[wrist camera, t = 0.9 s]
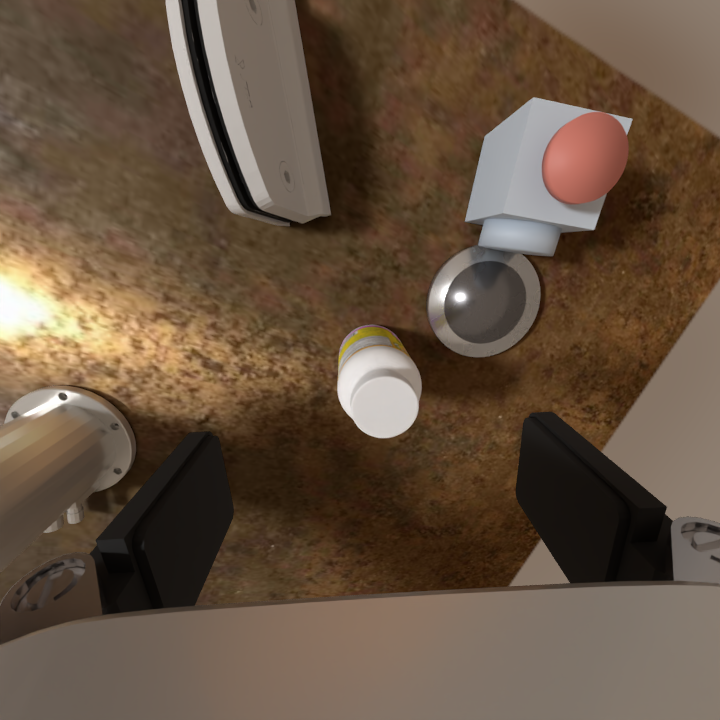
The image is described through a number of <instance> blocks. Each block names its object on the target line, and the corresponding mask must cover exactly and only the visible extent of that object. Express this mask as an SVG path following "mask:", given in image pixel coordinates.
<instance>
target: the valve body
mask: <svg viewBox="0 0 720 720" xmlns="http://www.w3.org/2000/svg"><path fill="white" fill-rule="evenodd" d="M631 122H632V119H630V118H626V117H621V116H617V115H612V114H607V113H603V112H598V111H594V110H589V109H585V108H580V107H576V106H571V105H566V104H562V103H557V102H553V101H548V100H544V99H539V98H534V97H533V98H532V99H531V100H530V101H528V102H527V103H526V104H525V105H523V106H522V107H521V108H520V109H518V110H517V111H516V112H515V113H513V114H512V115H511V116H510V117H508V118H507V119H506V120H505V121H503V122H502V123H501V124H500V125H498V126H497V127H496V128H495V129H493V130H492V131H491V132H490V133H488V134H487V135H486V136H485V138H484V142H483V147H482V151H481V155H480V159H479V164H478V168H477V172H476V176H475V181H474V185H473V189H472V193H471V198H470V202H469V206H468V210H467V215H466V219H465V222H468V223H474V224H480V225H483V227H482V231H481V235H480V239H479V243H478V246H481V247H485V248H489V249H494V250H500V251H506V252H513V253H520V254H528V255H537V256H554V252H555V249H556V246H557V243H558V240H559V237H560V234H561V233H563V232H576V231H589V230H594V229H595V226H596V223H597V220H598V218H599V215H600V212H601V209H602V206H603V203H604V200H605V197H606V194H607V192H609V191H610V190H611V189H612V188H613V187H614V185H615V184H616V183H617V182H618V180H619V179H620V177H621V175H622V173H623V171H624V169H625V166H626V163H627V158H628V139H627V134H628V131H629V128H630V125H631Z"/></svg>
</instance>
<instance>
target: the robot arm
mask: <svg viewBox="0 0 720 720" xmlns="http://www.w3.org/2000/svg"><path fill="white" fill-rule="evenodd" d="M135 455H136V441H135V437H134V433H133V431H132V429H131V427H130V425H129V423H128V421H127V420H126V419H125V417H124V416H123V414H122V413H121V412H120V411H119V410H118V409H117V408H116V407H115V406H114V405H112V404H111V403H110V402H108V401H107V400H105V399H104V398H102V397H101V396H99V395H97V394H95V393H93V392H90V391H87V390H84V389H81V388H78V387H71V386H49V387H44V388H40V389H38V390H35V391H33V392H31V393H29V394H27V395H25V396H23V397H21V398H20V399H19V400H18V401H16V402H15V403H14V404H13V405H12V407H11V408H10V409H9V411H8V413H7V416H6V419H5V422H4V425H2V426H0V573H1V572H2V571H3V570H4V569H5V568H6V567H7V566H8V565H9V564H10V563H11V562H12V561H13V560H14V559H15V558H16V557H18V556H19V555H20V554H21V553H22V552H23V551H24V550H25V549H26V548H27V547H28V546H29V545H30V544H31V543H32V542H33V541H35V540H36V539H37V538H38V537H39V536H40V535H41V534H42V533H43V532H45V533H48V532H53V531H55V530H58V529H59V528H61V527H62V526H63V524H64V519H63V513H64V512H65V511H66V510H67V518H68V523H70V524H75V523H78V522H80V521H82V520H83V518H84V510H83V506H82V503H83V502H84V501H85V500H86V499H87V498H88V497H89V496H90V495H91V494H92V493H93V492H98V491H101V490H104V489H107V488H109V487H111V486H112V485H114V484H116V483H117V482H118V481H119V480H120V479H121V478H122V477H124V476H125V474H126V473H127V472H128V471H129V470H130V468H131V466H132V464H133V462H134V460H135ZM516 497H517V500H518V503H519V504H520V506H521V507H522V509H523V511H524V512H525V514H526V515H527V517H528V518H529V520H530V521H531V523H532V525H533V526H534V528H535V529H536V531H537V532H538V534H539V535H540V537H541V538H542V540H543V542H544V543H545V545H546V546H547V548H548V549H549V551H550V552H551V554H552V556H553V557H554V559H555V560H556V562H557V563H558V565H559V566H560V568H561V570H562V571H563V573H564V574H565V576H566V577H567V579H568V580H569V582H570V583H568V584H550V585H530V586H512V587H492V588H473V589H454V590H437V591H420V592H403V593H386V594H369V595H352V596H336V597H320V598H304V599H289V600H274V601H258V602H243V603H228V604H213V605H200V606H195V603H196V601H197V599H198V597H199V594H200V592H201V590H202V587H203V585H204V583H205V581H206V578H207V576H208V574H209V571H210V569H211V567H212V565H213V562H214V560H215V558H216V556H217V553H218V551H219V549H220V546H221V544H222V542H223V540H224V537H225V535H226V533H227V530H228V528H229V526H230V524H231V521H232V519H233V513H234V508H233V502H232V498H231V493H230V488H229V484H228V479H227V474H226V470H225V465H224V460H223V456H222V451H221V446H220V442H219V438H218V437H217V436H213V434H212V433H211V432H210V431H209V432H192V433H189V434H188V435H187V436H186V437H185V438H184V439H183V441H182V442H181V443H180V444H179V445H178V446H177V447H176V449H175V450H174V451H173V452H172V453H171V454H170V456H169V457H168V458H167V459H166V460H165V461H164V462H163V464H162V465H161V466H160V467H159V468H158V469H157V470H156V472H155V473H154V474H153V475H152V476H151V477H150V478H149V480H148V481H147V482H146V483H145V484H144V485H143V486H142V488H141V489H140V490H139V491H138V492H137V493H136V495H135V496H134V497H133V498H132V499H131V500H130V501H129V503H128V504H127V505H126V506H125V507H124V508H123V509H122V511H121V512H120V513H119V514H118V515H117V516H116V517H115V519H114V520H113V521H112V522H111V523H110V524H109V526H108V527H107V528H106V529H105V530H104V531H103V532H102V534H101V535H100V536H99V537H98V538H97V539H96V542H97V546H96V547H95V548H94V549H93V551H92V552H91V553H90V554H87V553H77V552H75V553H71V554H66V555H62V556H60V557H57V558H55V559H52V560H50V561H48V562H46V563H44V564H42V565H40V566H39V567H37V568H35V569H34V570H32V571H31V572H30V573H28V574H27V575H25V576H24V577H22V578H21V579H20V580H19V581H18V582H17V583H16V584H15V585H14V586H13V587H12V588H11V589H10V590H9V591H8V593H7V594H6V595H5V597H4V598H3V600H2V602H1V605H0V720H720V523H717V522H715V521H711V520H707V519H703V518H697V517H681V518H678V519H676V520H674V521H672V520H671V519H670V518H669V517H668V516H666V515H665V511H666V508H667V507H666V506H665V505H664V504H663V503H662V502H660V501H659V500H658V499H657V498H656V497H654V496H653V495H652V494H651V493H649V492H648V491H647V490H646V489H645V488H644V487H642V486H641V485H640V484H639V483H638V482H636V481H635V480H634V479H633V478H632V477H630V476H629V475H628V474H627V473H626V472H624V471H623V470H622V469H621V468H620V467H618V466H617V465H616V464H615V463H614V462H612V461H611V460H610V459H608V457H606V456H605V455H604V454H603V453H602V452H600V451H599V450H598V449H597V448H596V447H594V446H593V445H592V444H591V443H590V442H588V441H587V440H586V439H585V438H584V437H582V436H581V435H580V434H579V433H578V432H576V431H575V430H574V429H573V428H572V427H570V426H569V425H568V424H567V423H566V422H564V421H563V420H562V419H561V418H559V417H558V416H557V415H556V414H555V413H553V412H538V413H531V414H530V416H529V418H525V420H524V423H523V431H522V439H521V448H520V457H519V466H518V475H517V483H516Z"/></svg>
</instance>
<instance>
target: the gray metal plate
mask: <svg viewBox="0 0 720 720" xmlns="http://www.w3.org/2000/svg"><path fill="white" fill-rule="evenodd" d="M539 305H540V283H539V279H538V276H537V274H536V271H535V269H534V267H533V266H532V264H531V263H530V262H529V261H528V259H527V258H526V257H525V256H523V255H522V254H520V253H513V252H506V251H500V250H494V249H489V248H485V247H481V246H478V245H475V246H471V247H468V248H466V249H463V250H461V251H459V252H458V253H456V254H455V255H453V256H452V257H450V258H449V259H448V260H447V261H446V262H445V263H444V264H443V265H442V266H441V267H440V269H439V270H438V271H437V273H436V274H435V276H434V278H433V280H432V282H431V285H430V287H429V291H428V295H427V303H426V309H427V316H428V321H429V323H430V326H431V328H432V330H433V332H434V334H435V335H436V336H437V338H438V339H439V340H440V341H441V342H442V343H443V344H444V345H445V346H447V347H448V348H449V349H451V350H452V351H454V352H456V353H458V354H461V355H464V356H469V357H487V356H492V355H495V354H498V353H501V352H503V351H505V350H507V349H508V348H510V347H512V346H513V345H514V344H516V343H517V342H518V341H519V340H520V339H521V338H522V337H523V336H524V335H525V334H526V333H527V331H528V330H529V328H530V327H531V326H532V324H533V322H534V320H535V318H536V315H537V312H538V309H539Z"/></svg>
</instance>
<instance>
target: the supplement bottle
mask: <svg viewBox="0 0 720 720" xmlns="http://www.w3.org/2000/svg"><path fill="white" fill-rule="evenodd" d="M337 389H338V397H339V400H340V403H341V405H342V407H343V409H344V410H345V412H346V413H347V414H348V415H349V416H350V417H351V418H352V419H353V420H354V422H355V424H356V425H357V426H358V428H359V429H360V430H362V431H363V432H364V433H366V434H368V435H370V436H373V437H377V438H390V437H394V436H397V435H399V434H401V433H403V432H404V431H406V430H407V429H408V428H409V427H410V426H411V425H412V424H413V422H414V421H415V419H416V417H417V414H418V409H419V399H420V396H421V390H422V383H421V377H420V373H419V371H418V369H417V367H416V365H415V363H414V362H413V360H412V359H411V357H410V356H409V354H408V352H407V351H406V349H405V348H404V346H403V344H402V343H401V341H400V340H399V339H398V337H397V336H396V335H395V334H394V333H393V332H392V331H390V330H389V329H387V328H385V327H382V326H379V325H366V326H362V327H359V328H357V329H355V330H353V331H352V332H351V333H349V334H348V336H347V337H346V338H345V339H344V341H343V343H342V345H341V348H340V352H339V366H338V388H337Z"/></svg>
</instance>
